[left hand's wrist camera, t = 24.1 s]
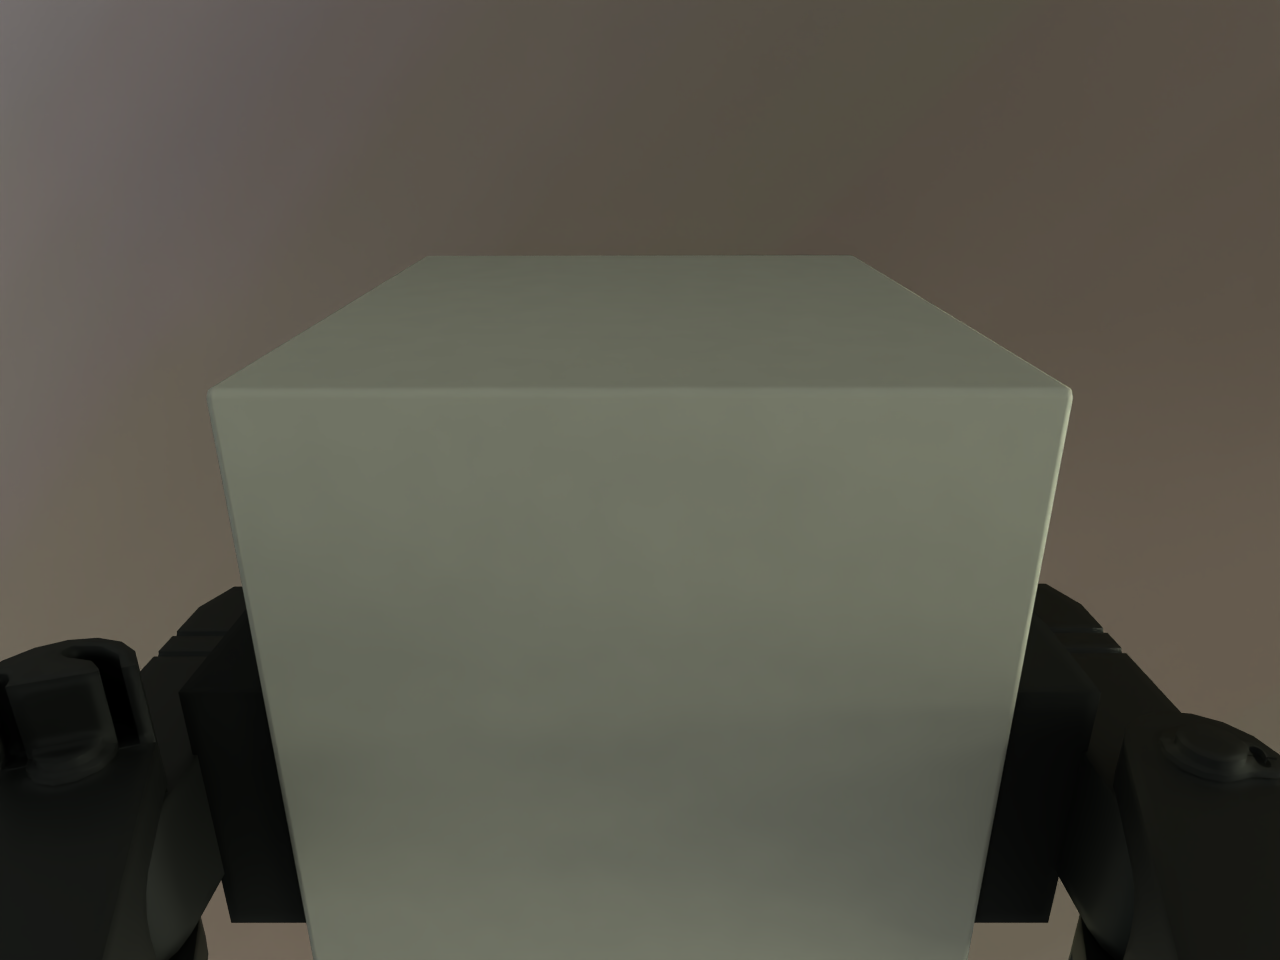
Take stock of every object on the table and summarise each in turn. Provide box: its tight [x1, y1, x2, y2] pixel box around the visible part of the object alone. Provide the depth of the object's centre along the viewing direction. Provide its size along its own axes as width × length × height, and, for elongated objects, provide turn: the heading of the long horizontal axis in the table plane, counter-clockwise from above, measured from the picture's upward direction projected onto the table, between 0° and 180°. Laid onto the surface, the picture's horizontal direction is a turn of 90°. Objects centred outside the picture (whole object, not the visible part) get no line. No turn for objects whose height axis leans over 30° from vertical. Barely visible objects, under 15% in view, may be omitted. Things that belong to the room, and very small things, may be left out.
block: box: [207, 255, 1073, 960], centre depth 12 cm, size 7×8×7 cm
